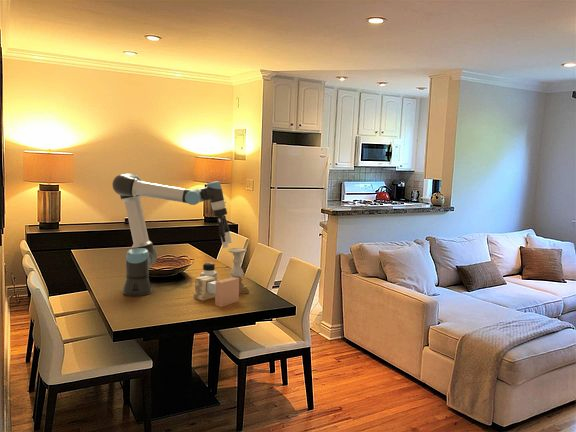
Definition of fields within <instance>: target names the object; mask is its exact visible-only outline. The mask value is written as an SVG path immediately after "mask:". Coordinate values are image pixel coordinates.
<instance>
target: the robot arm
mask: <svg viewBox="0 0 576 432" xmlns="http://www.w3.org/2000/svg"><path fill="white" fill-rule="evenodd" d="M112 189H113V191H114V192H115V193H116V194H117V195H118V196H120V199H121V201H123V202H124V206H125V210H126V215H127V219H128V224H129V229H130V232H131V237H132V238H131V239H132V242H133V244H132V246H131V249H128V250H127V251H126V255H125V272H126V273H125V281H124V284H123V287H122V294H123V295H125V296H130V297H131V296H132V297H139V296H140V297H141V296H146V295H149V294H151V293H152V292H153V287H152V284H151V281H150V277H149V274H150V273H149V272H150V271H149V270H150V269H149V268H151V267H153V265H154V264H155V263H156V262H157V258H158V253H157V252H158V251H157V250H156V249H155V248H154V243H153V242H152V241H151V240H150V238H149V234H148V231H147V230H148V229H147V226H146V225H147V224H146V220H145V215H144V210H143V206H142V202H141V198H143V197H146V198H152V199H153V198H154V199H159V200H165V201H171V202H173V201H174V202H179V203H182V204H183V203H184V204H189V205H190V206H195V205H197V204H200V203H202V202H206V201H210V205H211V209H212V212H213V216H214V218H217V219H216V220H217V226H218V237H219V238H220V240H221V244H222V248H223V249H226V248H229V244H232V243H233V242H232V239H231V238H232V237H231V234H230V232H231V229H230V227H229V224H228V221H227V217H226V215H227V214H228V211H227V208H226V203H227V202H226V201H225V198H224V193H223V188H222V184H221V182H220V181H218V180H216V181H210V182H207V183H206V186H205V187H201V188H196V189H195V188H194V189H189V188H182V187H178V186H169V185H165V184H164V185H163V184H159V183H153V182H152V183H151V182H147V181H143V180H142V179H141V178H140V176H138V175H136V174H134V173H129V172H128V173H122V174H118V175H117V176H115V177H114V178H113V180H112Z"/></svg>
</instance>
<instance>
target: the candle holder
mask: <svg viewBox="0 0 576 432" xmlns="http://www.w3.org/2000/svg"><path fill="white" fill-rule="evenodd" d="M228 252H229V253H232V255H233V259H232V262H233V266H232V269H230V273H229V274H230V277H235V278H239V295H243V294H244V295H245V294H249V293H250V289H249V288H248V286H247V285H245V283H243V278H242V277H243V276H244V270H243V268H242V267H241V263H242V262H243V260H242V259H241V257H242V255H243V254H244V253H246V252H247V248H241V247H237V248H236V247H234V248H228Z"/></svg>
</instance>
